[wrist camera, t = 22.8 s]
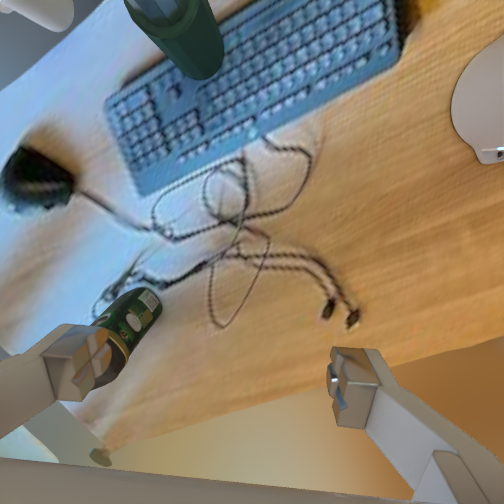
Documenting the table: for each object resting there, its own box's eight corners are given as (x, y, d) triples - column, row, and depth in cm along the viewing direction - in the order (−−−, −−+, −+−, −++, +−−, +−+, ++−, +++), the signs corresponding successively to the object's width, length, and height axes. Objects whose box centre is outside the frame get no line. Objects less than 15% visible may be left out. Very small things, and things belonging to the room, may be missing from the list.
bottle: (222, 15, 36) (180, -115, 19) (225, 78, 38) (192, 13, 21) (169, 20, 36) (83, -103, 19) (177, 81, 39) (106, 20, 22)
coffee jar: (134, 328, 55) (72, 406, 38) (111, 299, 53) (34, 368, 35) (170, 311, 53) (122, 385, 36) (147, 280, 51) (85, 343, 33)
